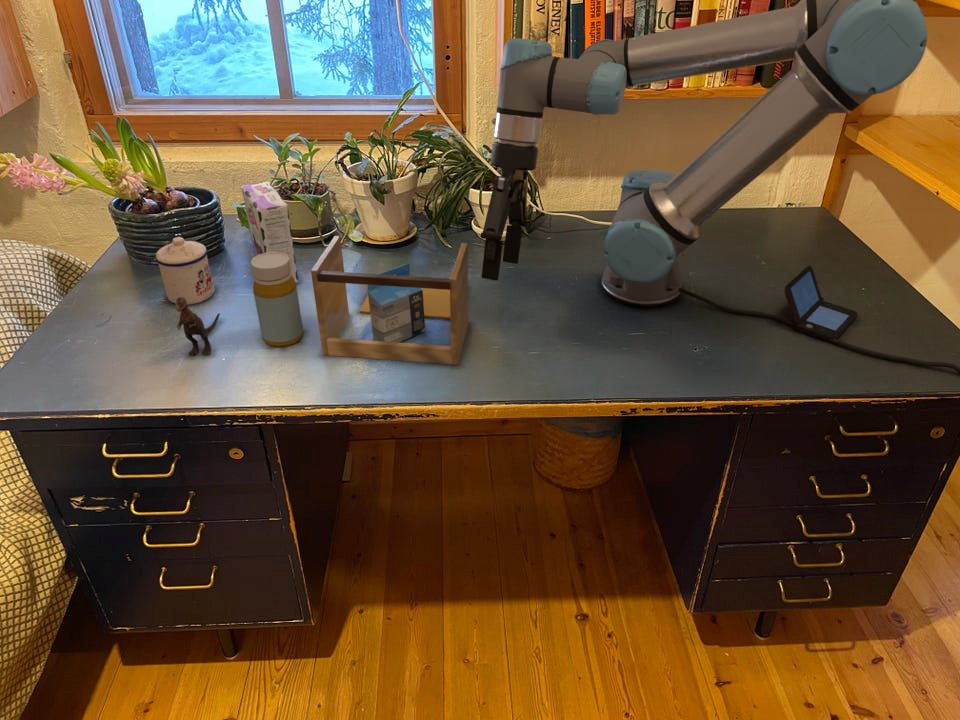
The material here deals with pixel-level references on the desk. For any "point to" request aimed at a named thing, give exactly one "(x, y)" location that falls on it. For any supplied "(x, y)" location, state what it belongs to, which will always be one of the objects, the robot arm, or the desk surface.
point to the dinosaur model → (193, 327)
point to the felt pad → (427, 303)
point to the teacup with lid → (185, 271)
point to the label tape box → (396, 309)
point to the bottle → (276, 299)
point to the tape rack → (333, 285)
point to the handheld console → (815, 308)
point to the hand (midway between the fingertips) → (500, 270)
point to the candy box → (269, 222)
